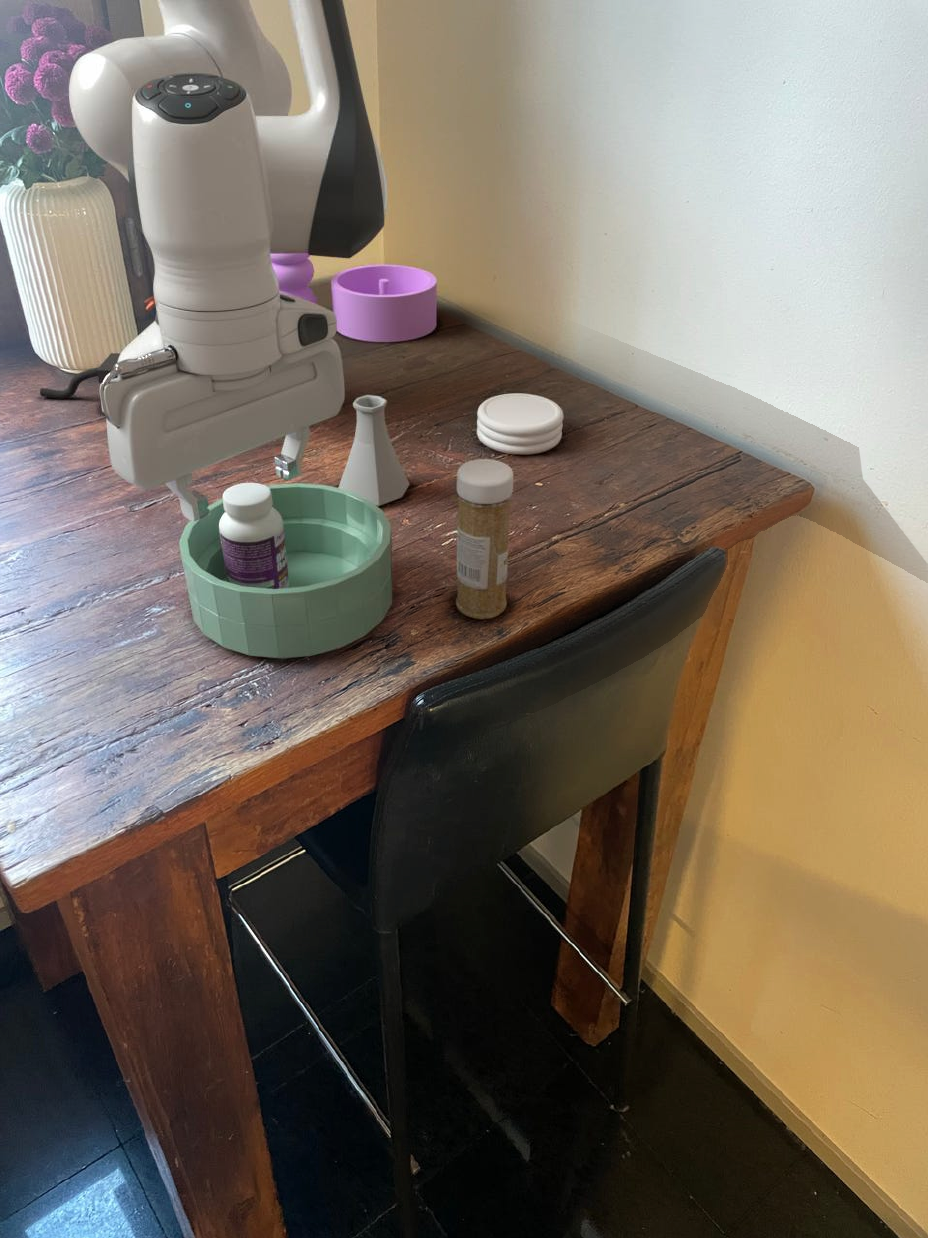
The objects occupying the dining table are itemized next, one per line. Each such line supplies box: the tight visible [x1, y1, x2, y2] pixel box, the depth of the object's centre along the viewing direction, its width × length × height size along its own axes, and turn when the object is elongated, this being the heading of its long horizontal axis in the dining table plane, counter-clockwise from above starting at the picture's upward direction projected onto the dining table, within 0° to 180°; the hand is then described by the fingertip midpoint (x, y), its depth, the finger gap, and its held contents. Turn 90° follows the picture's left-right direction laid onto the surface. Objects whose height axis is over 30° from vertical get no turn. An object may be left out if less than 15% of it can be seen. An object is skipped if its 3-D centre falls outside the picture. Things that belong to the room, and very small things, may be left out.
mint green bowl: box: [178, 482, 394, 659], centre depth 81 cm, size 17×18×7 cm
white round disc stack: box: [476, 392, 564, 456], centre depth 109 cm, size 10×10×4 cm
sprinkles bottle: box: [455, 458, 514, 620], centre depth 79 cm, size 5×5×13 cm
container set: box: [270, 253, 437, 343], centre depth 135 cm, size 25×15×13 cm, turn 91°
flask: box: [338, 394, 410, 507], centre depth 96 cm, size 7×7×10 cm
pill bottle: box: [219, 482, 289, 589], centre depth 80 cm, size 5×5×10 cm
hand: (244, 495), depth 77 cm, fingers open, 8 cm apart
